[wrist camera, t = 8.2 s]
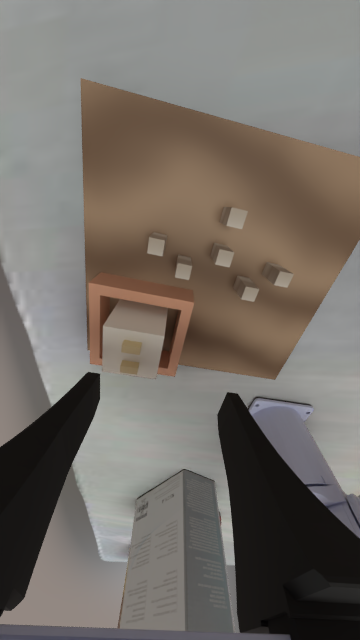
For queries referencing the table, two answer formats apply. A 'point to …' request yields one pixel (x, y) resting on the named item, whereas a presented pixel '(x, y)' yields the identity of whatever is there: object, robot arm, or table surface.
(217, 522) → the hard drive box
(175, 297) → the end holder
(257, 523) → the robot arm
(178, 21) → the table surface
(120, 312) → the connector plug
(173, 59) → the table surface
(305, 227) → the board
